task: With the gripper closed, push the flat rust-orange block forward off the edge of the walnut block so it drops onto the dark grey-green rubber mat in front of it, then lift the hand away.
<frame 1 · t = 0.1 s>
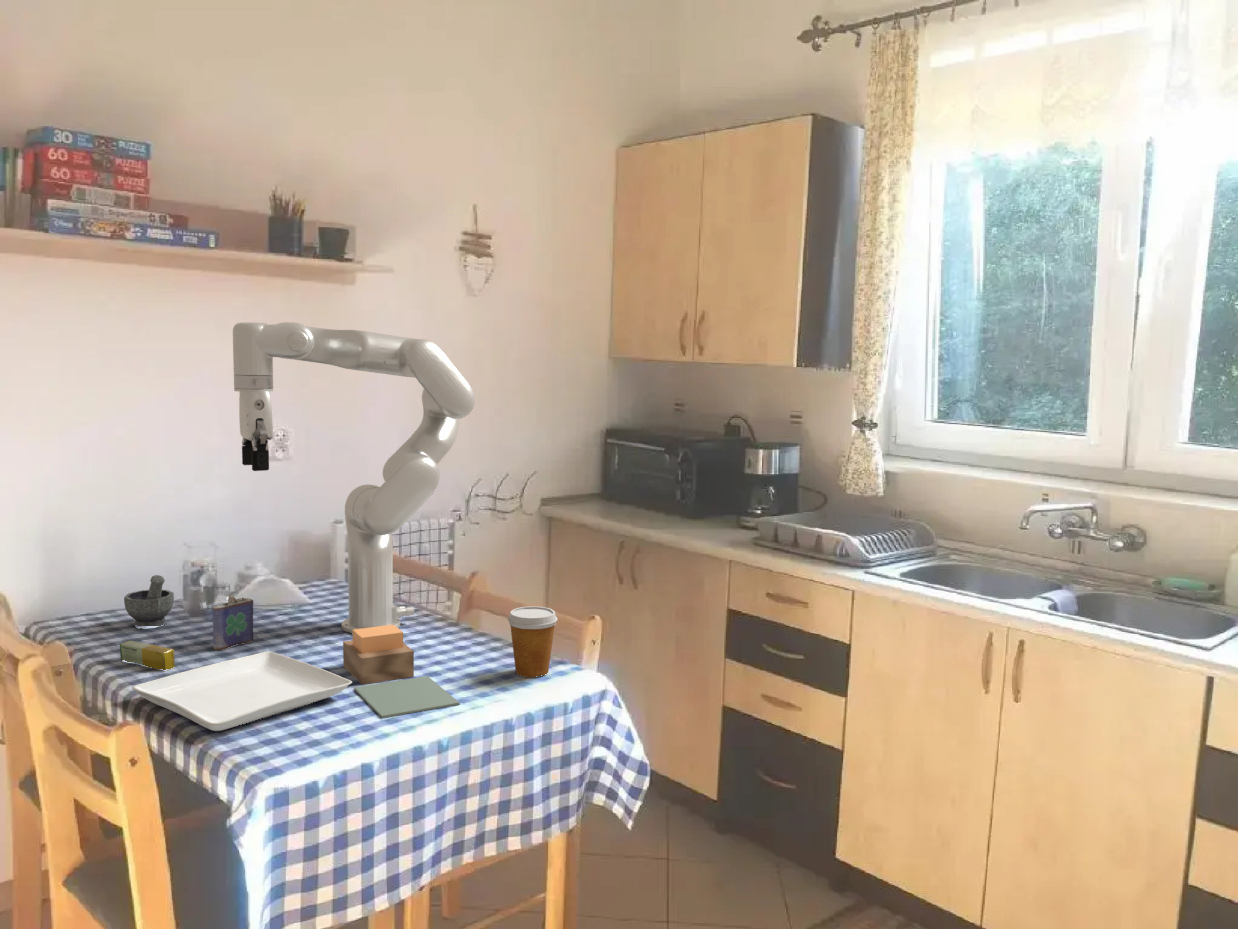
hand: (255, 467, 212), 37 cm above the table, tool pointing down, fingers open, 9 cm apart
square plate: (243, 703, 182), on the table
orange block: (377, 646, 198), point 5 cm above the table, touching walnut block
medication box: (147, 666, 200), on the table
rubber mat: (406, 697, 185), on the table
walnut block: (378, 671, 199), on the table
disposable coffee cup: (532, 673, 200), on the table
mortar and pestle: (151, 627, 226), on the table
flask: (233, 646, 214), on the table
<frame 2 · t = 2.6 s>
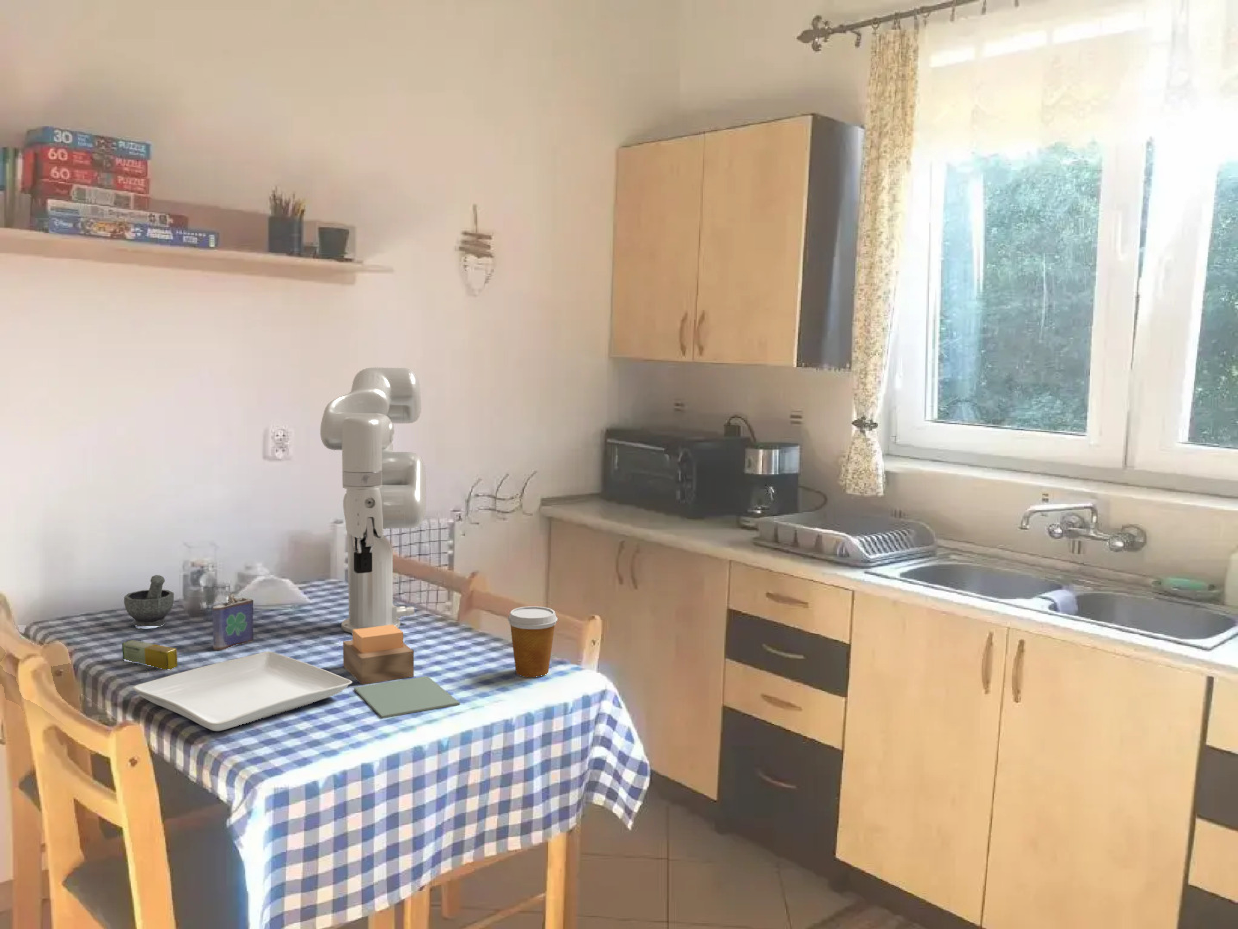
hand: (363, 571, 204), 18 cm above the table, tool pointing down, fingers closed
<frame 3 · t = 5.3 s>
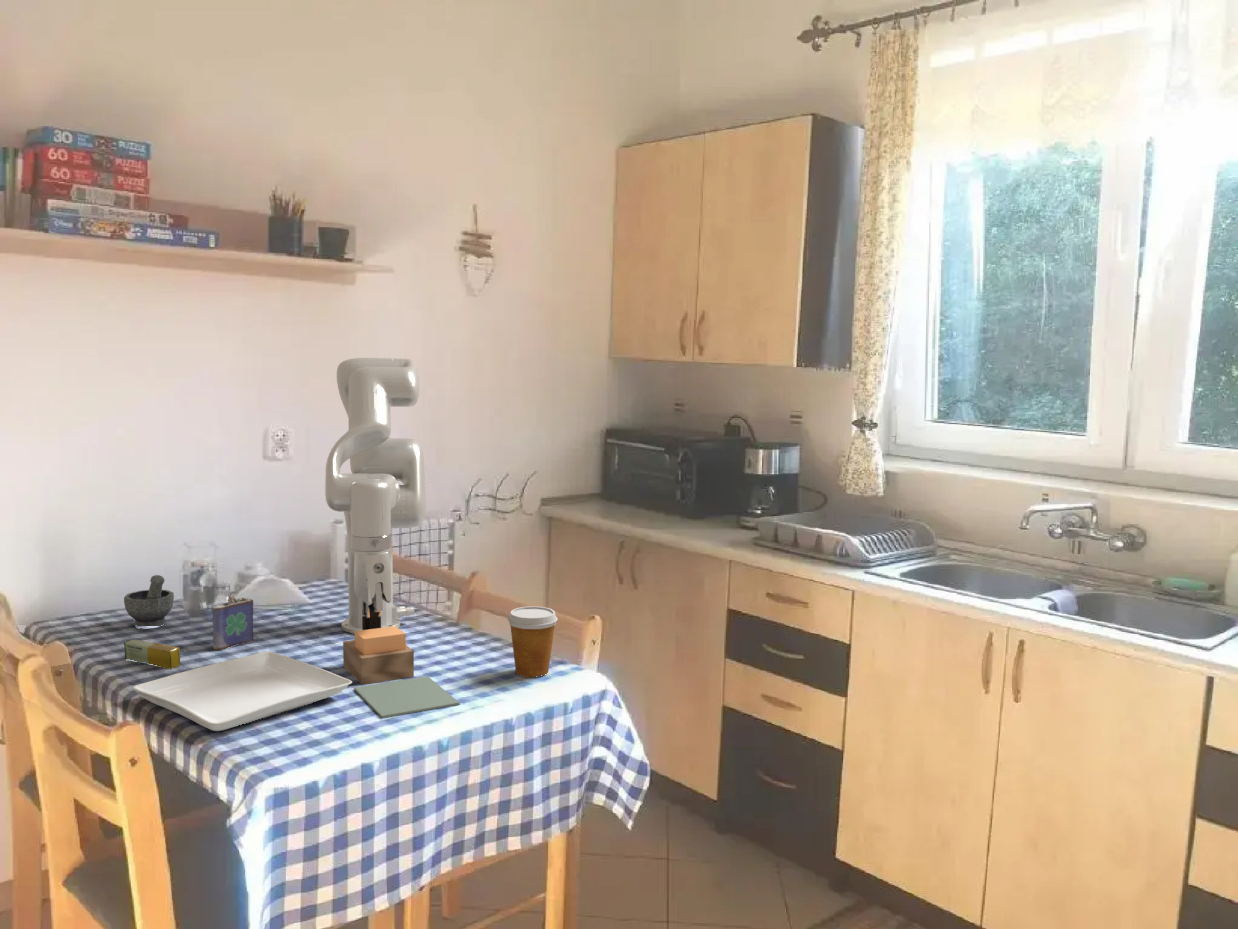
hand: (371, 636, 201), 6 cm above the table, tool pointing down, fingers closed
orange block: (380, 647, 197), point 5 cm above the table
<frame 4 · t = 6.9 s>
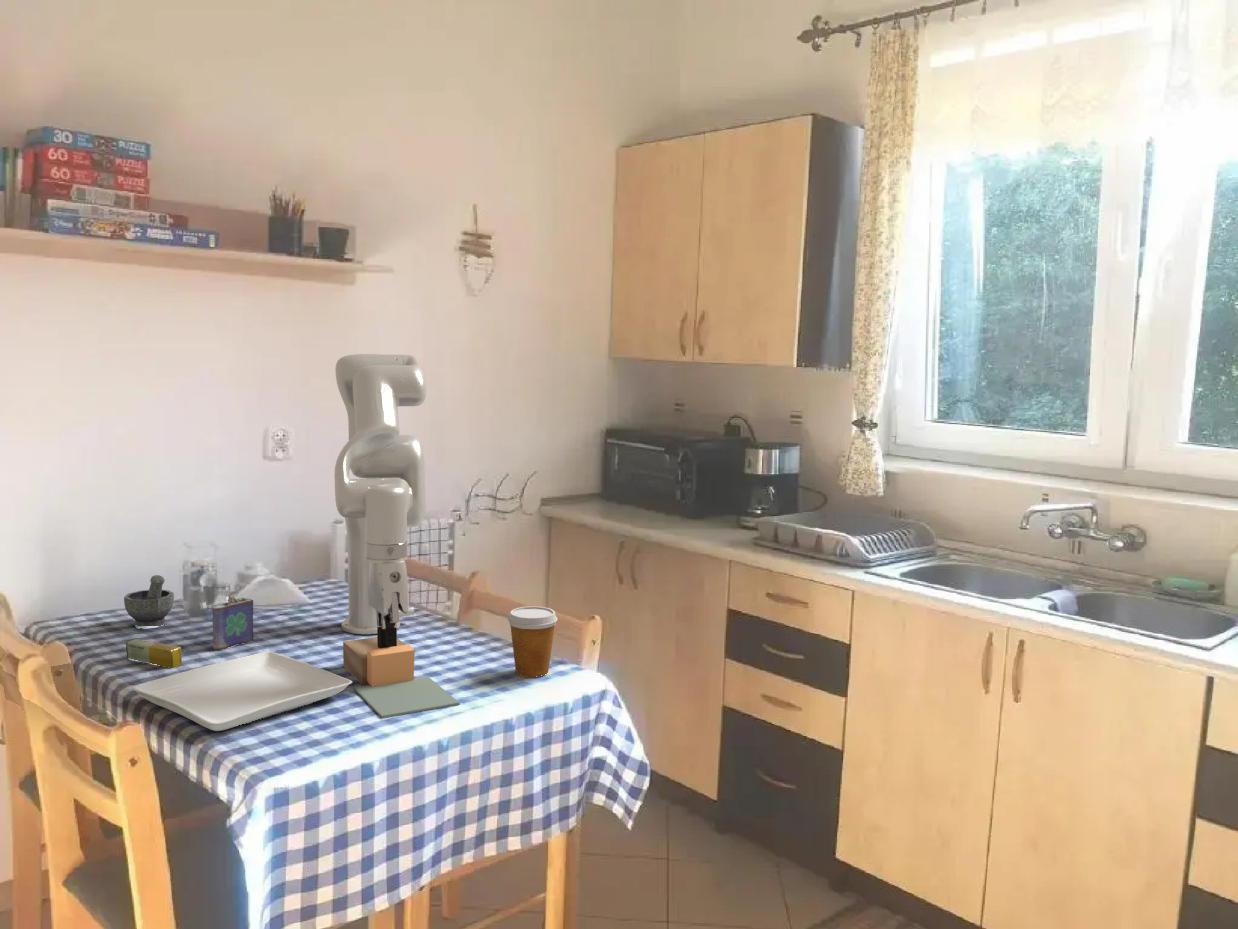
hand: (387, 647, 193), 6 cm above the table, tool pointing down, fingers closed
orange block: (388, 662, 193), point 4 cm above the table, tilted 96°, touching gripper, rubber mat
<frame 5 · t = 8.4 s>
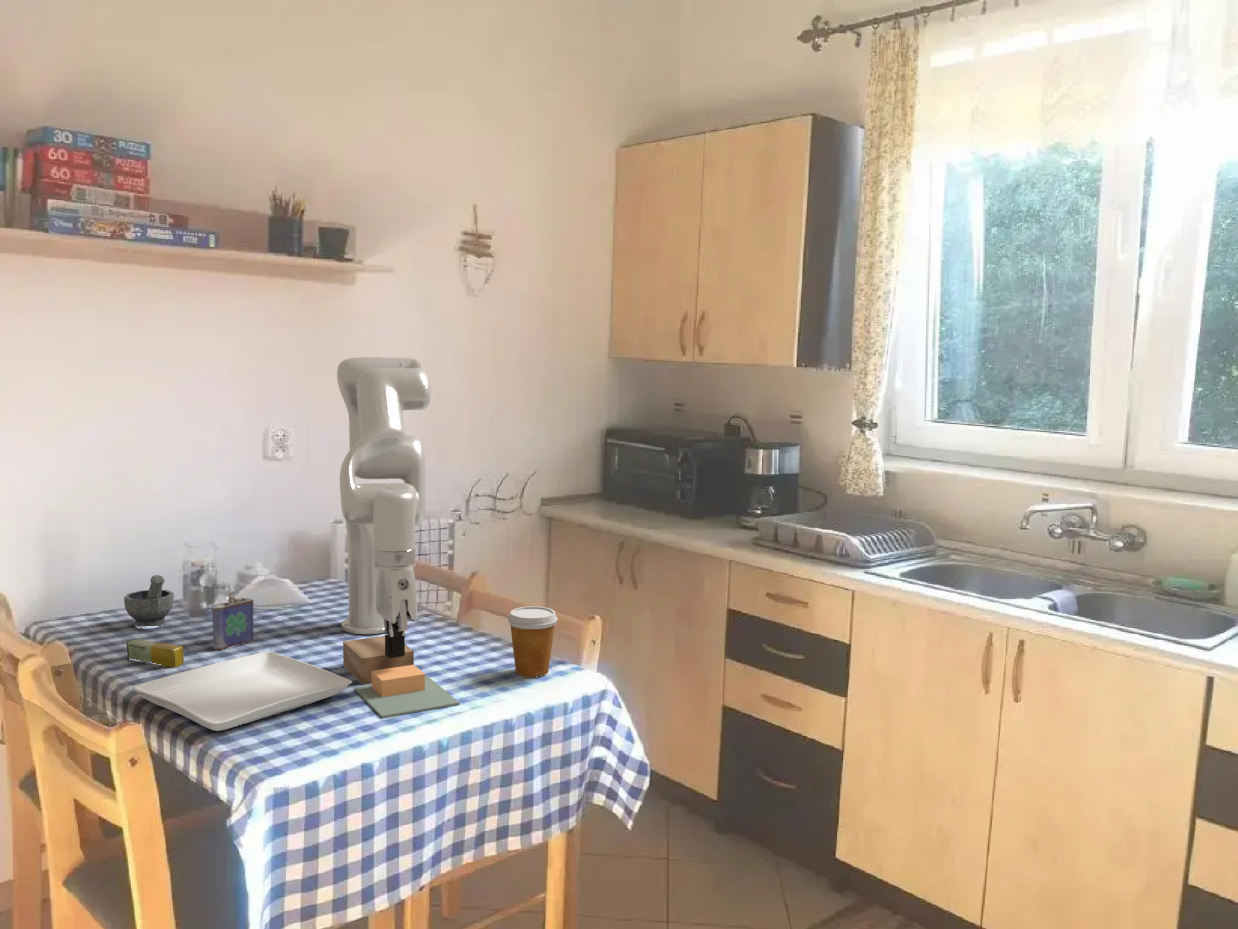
hand: (394, 655, 189), 6 cm above the table, tool pointing down, fingers closed
orange block: (398, 672, 188), point 3 cm above the table, tilted 180°, touching rubber mat
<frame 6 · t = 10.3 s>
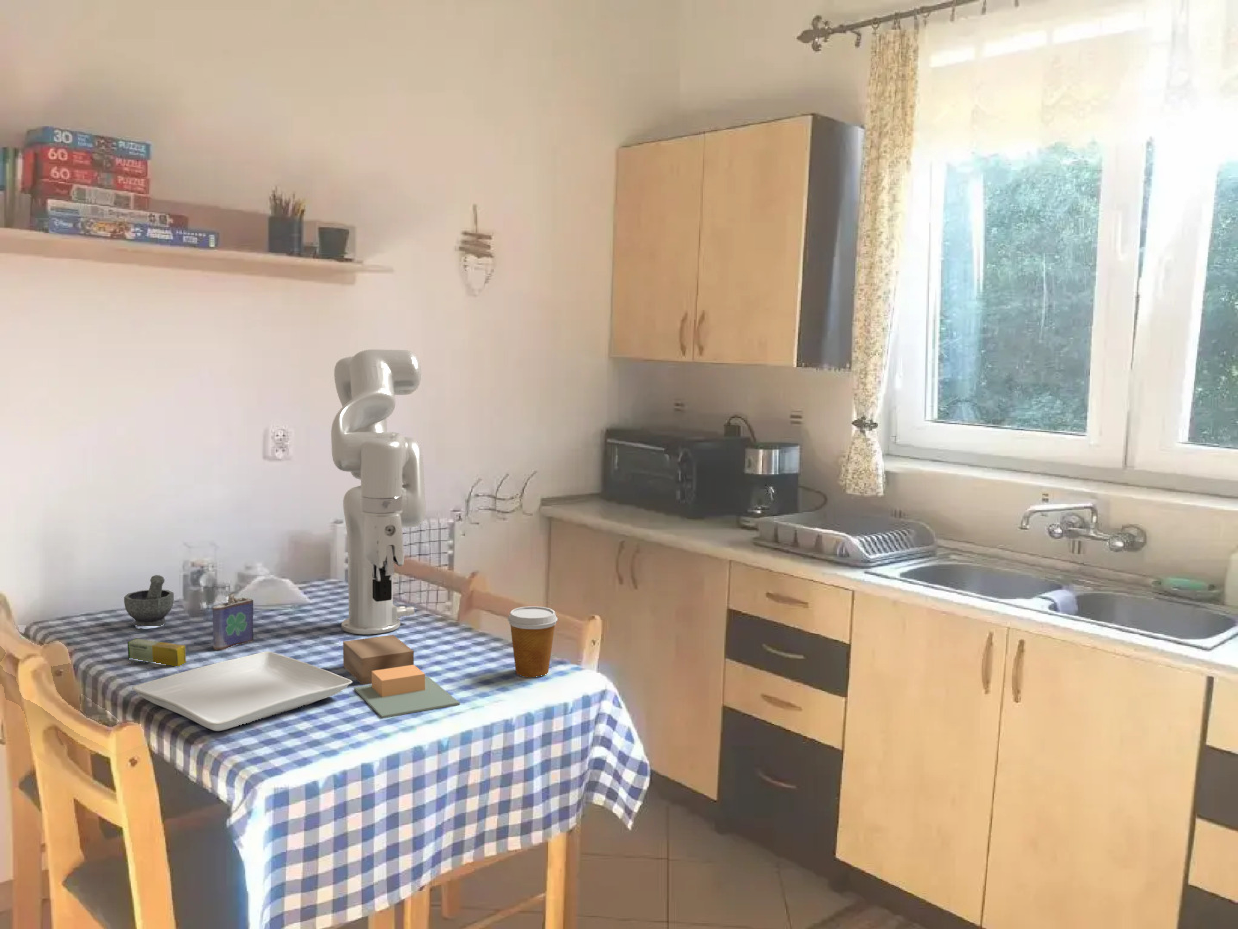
hand: (382, 599, 195), 15 cm above the table, tool pointing down, fingers closed
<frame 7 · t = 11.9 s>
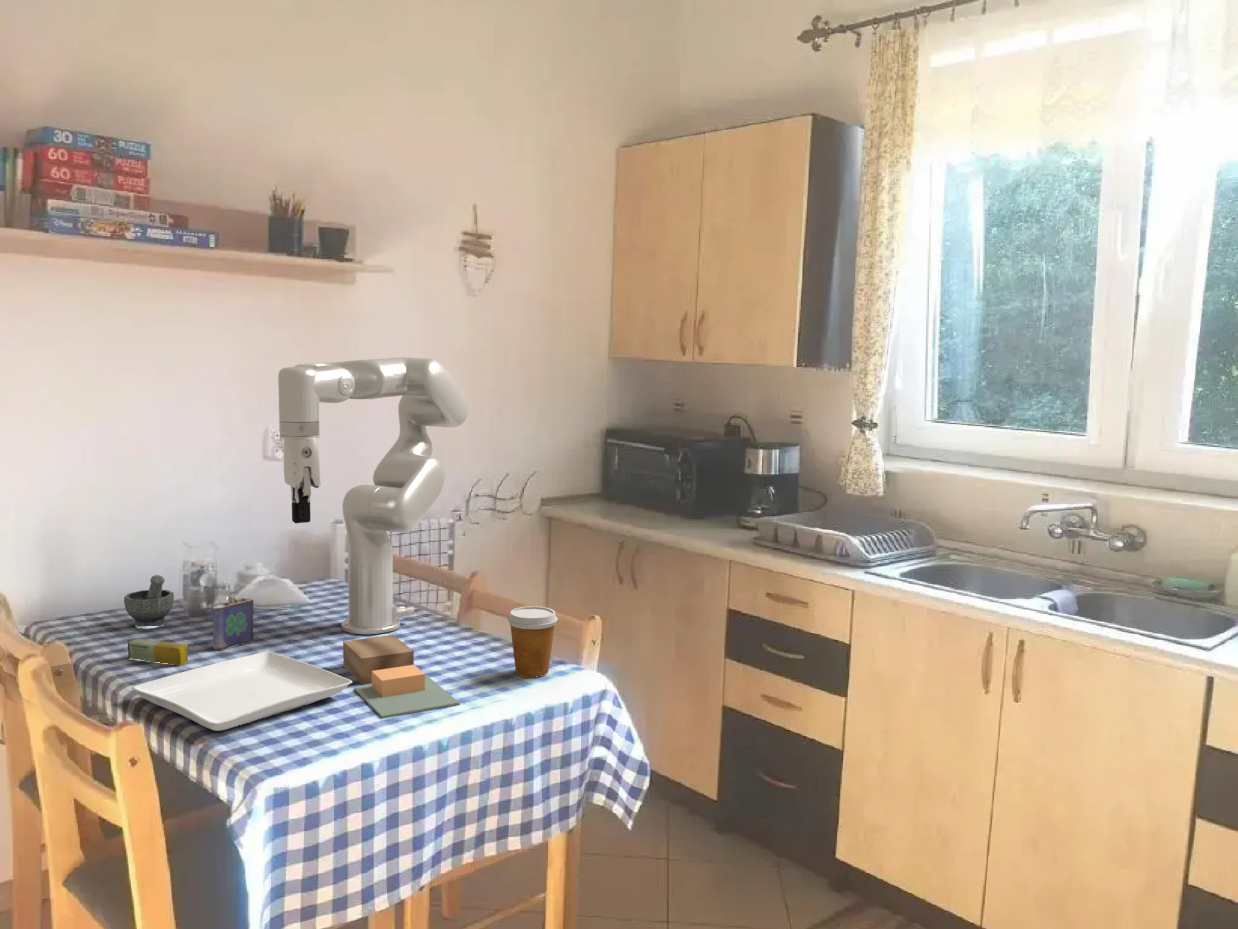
hand: (301, 521, 205), 27 cm above the table, tool pointing down, fingers closed
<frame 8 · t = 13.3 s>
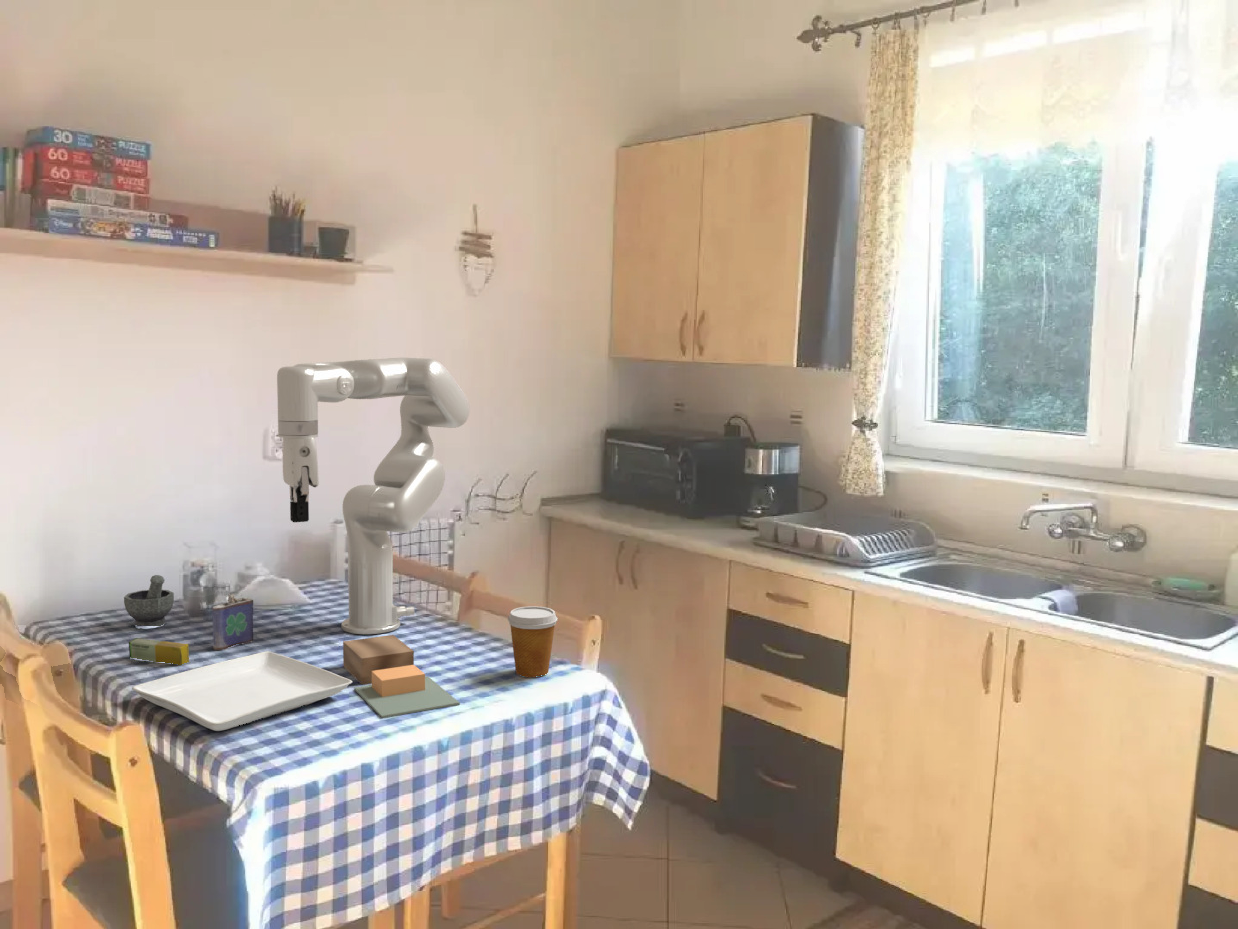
hand: (299, 521, 206), 27 cm above the table, tool pointing down, fingers closed
at the end: orange block inside the target area (3.9 cm from its centre), point 3.4 cm above the table; orange block touching rubber mat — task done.
